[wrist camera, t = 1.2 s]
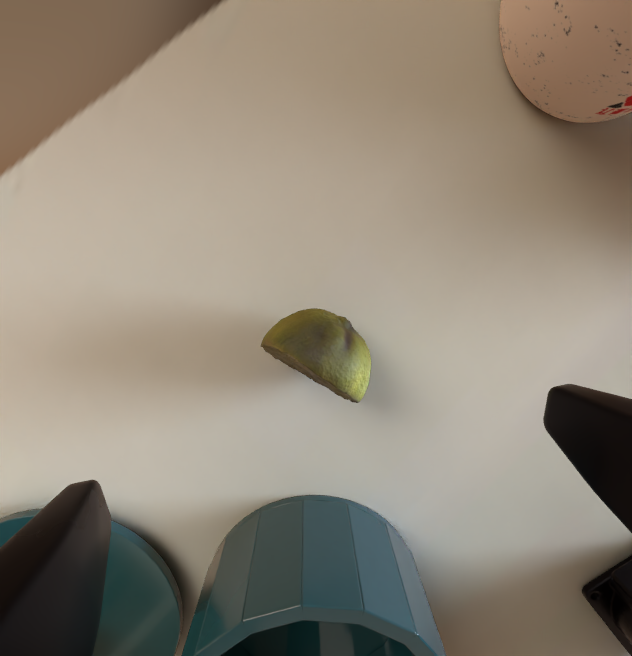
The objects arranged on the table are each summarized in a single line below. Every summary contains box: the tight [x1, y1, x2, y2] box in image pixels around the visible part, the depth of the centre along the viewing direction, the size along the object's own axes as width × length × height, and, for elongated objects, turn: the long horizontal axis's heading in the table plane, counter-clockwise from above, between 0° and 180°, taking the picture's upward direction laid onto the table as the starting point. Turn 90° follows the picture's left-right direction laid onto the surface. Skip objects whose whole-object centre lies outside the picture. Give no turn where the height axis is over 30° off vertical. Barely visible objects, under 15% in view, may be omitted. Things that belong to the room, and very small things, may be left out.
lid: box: [0, 509, 183, 656], centre depth 20 cm, size 13×13×5 cm
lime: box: [261, 309, 371, 403], centre depth 18 cm, size 4×5×5 cm
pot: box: [182, 495, 447, 656], centre depth 20 cm, size 12×12×7 cm
